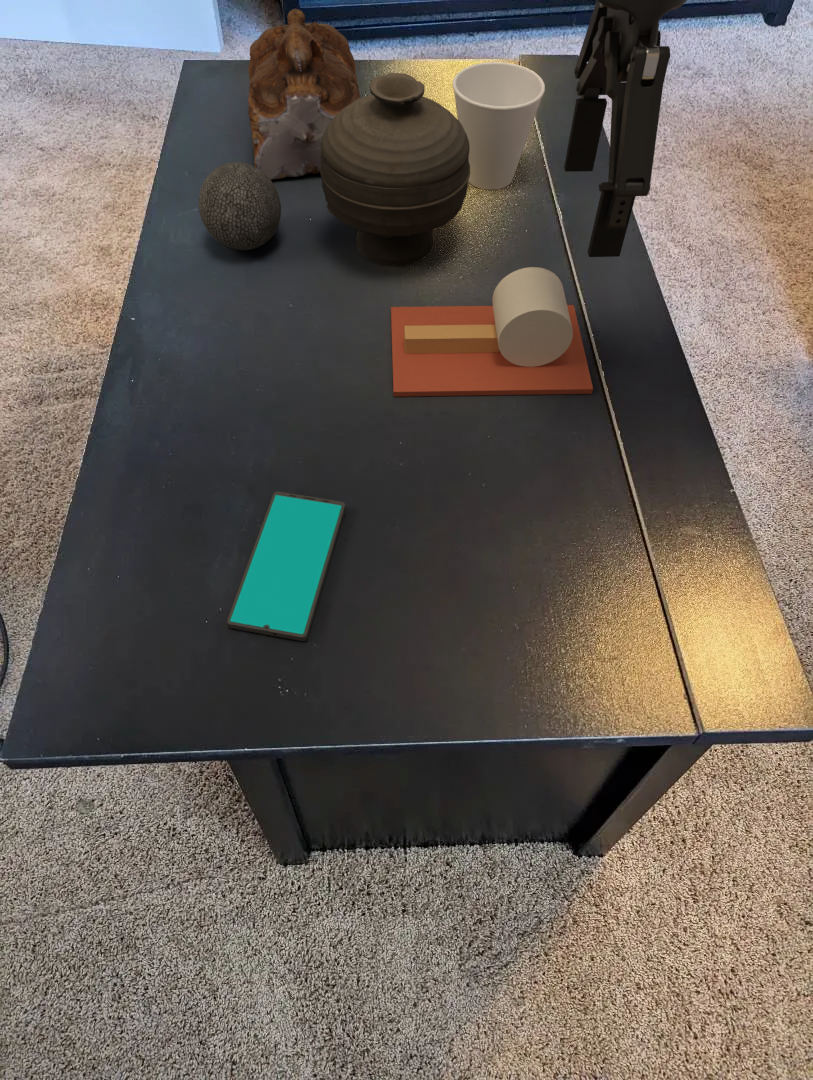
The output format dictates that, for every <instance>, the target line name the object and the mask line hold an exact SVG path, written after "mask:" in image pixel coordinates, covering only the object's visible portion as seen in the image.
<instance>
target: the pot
mask: <svg viewBox="0 0 813 1080" xmlns="http://www.w3.org/2000/svg"><path fill="white" fill-rule="evenodd" d="M425 88H426V87H425V83H423V82H421V81H419V80H417V79H416V78H415V77H414V76H412V75H410V74H407V73H402V72H401V73H400V72H391V73H387V74H383V75H378V76H376V77H374V78H372V80H371V81H370V84H369V92H370V95H366V96H363V97H361V98H360V99H358V100H356V101H354V102H353V103H351V104H350V105H348V106H347V107H345V108H344V109H343V110H341V111H340V112H339V113H338V114H337V115H336V116H335V117H334V118H333V119H332V120H331V122H330V124H329V125H328V126H327V128H326V129H325V131H324V134H323V137H322V141H321V159H320V162H321V164H320V165H321V167H320V168H321V170H320V173H319V174H320V177H321V187H322V191H323V194H324V198H325V201H326V207H327V210H328V211H327V212H328V213H330V214H331V215H333V216H334V217H335V218H337V219H338V220H339V221H340V222H342V223H343V224H346V225H347V226H350V227H351V228H354V230H357V234H356V238H355V245H356V249H357V250H358V252H359V254H360V255H361V256H363V257H364V258H365V259H367V260H369V261H371V262H373V263H375V264H378V265H380V266H385V267H405V266H409V265H414V264H415V263H418V262H420V261H421V260H424V259H425V258H427V256H429V255H430V254H431V253H432V250H433V249H434V246H435V240H434V233H433V231H434V230H436V229H440V228H443V227H445V226H446V225H447V224H448V223H450V222H451V221H453V219H454V218H455V217H456V216H457V215H458V214H459V213H460V211H461V210H462V209H463V206H464V202H465V198H466V196H467V193H468V187H469V182H468V180H469V177H470V164H469V151H470V146H469V140H468V137H467V134H466V132H465V131H464V128H463V126H462V124H461V123H460V122H459V121H458V118H457V117H456V116H455V115H454V114H453V113H452V112H451V111H450V110H448V109H447V108H446V107H444V106H443V105H441V103H439V102H437V101H436V100H433V99H431V98H428V97H426V96H424V94H425Z"/></svg>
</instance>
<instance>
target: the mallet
mask: <svg viewBox="0 0 813 1080" xmlns="http://www.w3.org/2000/svg"><path fill="white" fill-rule="evenodd" d="M565 294H566V293H565V290H564V285H563V282H562V280H561V279H560V277H558V275H557V274H555V273H554V272H553V271H551V270H549V269H547V268H544V267H537V266H530V267H529V266H528V267H522V268H519V269H517V270H514V271H512V272H510V273H508V274H507V275H506V276H504V277H503V278H502V279H501V280H500V281H499V283H498V284H497V285H496V287H495V289H494V290H493V294H492V298H491V300H492V301H491V303H492V306H493V311H494V318H495V325H426V326H404V346H405V354H419V353H490V352H501V354H502V355H503V357H504V358H505V359H506V360H508V361H509V362H511V363H513V364H515V365H519V366H524V367H535V366H541V365H544V364H547V363H550V362H552V361H554V360H555V359H557V358H558V357H560V356H561V355H562V354H563V353H564V352H565V351H566V350H567V348H568V347H569V345H570V343H571V341H572V337H573V330H572V325H571V321H570V316H569V312H568V307H567V305H568V303H567V299H566V295H565Z"/></svg>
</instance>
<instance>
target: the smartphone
mask: <svg viewBox="0 0 813 1080" xmlns="http://www.w3.org/2000/svg"><path fill="white" fill-rule="evenodd" d="M345 513H346V504H345V502H344V501H340V500H333V499H328V498H323V497H322V498H321V497H315V496H309V495H302V494H297V493H291V492H285V491H278V490H276V491H274V492H273V494H272V496H271V498H270V502H269V504H268V507H267V510H266V513H265V515H264V518H263V521H262V524H261V526H260V528H259V532H258V535H257V537H256V539H255V543H254V546H253V548H252V551H251V553H250V556H249V558H248V561H247V564H246V567H245V569H244V573H243V575H242V578H241V580H240V583H239V585H238V588H237V591H236V594H235V596H234V600H233V602H232V605H231V608H230V611H229V614H228V616H227V619H226V623H227V625H228V627H229V628H230V629H234V630H239V631H245V632H250V633H256V634H260V635H261V634H262V635H265V636H266V635H267V636H273V637H277V638H282V639H283V638H284V639H288V640H294V641H299V642H300V641H301V642H305V641H307V640H308V639H309V635H310V631H311V628H312V625H313V621H314V618H315V614H316V611H317V608H318V603H319V600H320V597H321V594H322V590H323V587H324V583H325V581H326V576H327V574H328V570H329V567H330V563H331V560H332V557H333V553H334V549H335V546H336V543H337V539H338V536H339V533H340V529H341V526H342V523H343V519H344V516H345Z"/></svg>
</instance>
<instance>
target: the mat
mask: <svg viewBox="0 0 813 1080" xmlns="http://www.w3.org/2000/svg"><path fill="white" fill-rule="evenodd" d="M567 307H568V312H569V316H570V321H571V325H572V330H573V337H572V341H571V343H570V345H569V347H568V348H567V350H566V351H565V352H564V353H563V354H562V355H561V356H560V357H558V358H557V359H555V360H554V361H552V362H550V363H547V364H544V365H541V366H535V367H524V366H519V365H515V364H513V363H511V362H509V361H508V360H506V359H505V358H504V357H503V355H502V354H501V352H490V353H419V354H405V346H404V326H426V325H495V318H494V311H493V305H447V306H445V305H444V306H442V305H441V306H438V305H437V306H433V305H432V306H391V307H390V318H391V319H390V322H391V323H390V324H391V325H390V326H391V354H392V356H391V357H392V359H391V361H392V388H393V389H392V391H393V397H394V398H396V397H397V398H399V397H400V398H401V397H403V398H404V397H405V398H406V397H407V398H408V397H453V396H454V397H463V396H465V397H467V396H468V397H469V396H471V397H472V396H473V397H474V396H531V395H535V396H537V395H539V396H540V395H541V396H542V395H592V394H593V392H594V387H593V383H592V378H591V374H590V369H589V366H588V365H589V364H588V360H587V356H586V352H585V348H584V344H583V339H582V335H581V330H580V326H579V322H578V317H577V313H576V309H575V305H574V304H567Z"/></svg>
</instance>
